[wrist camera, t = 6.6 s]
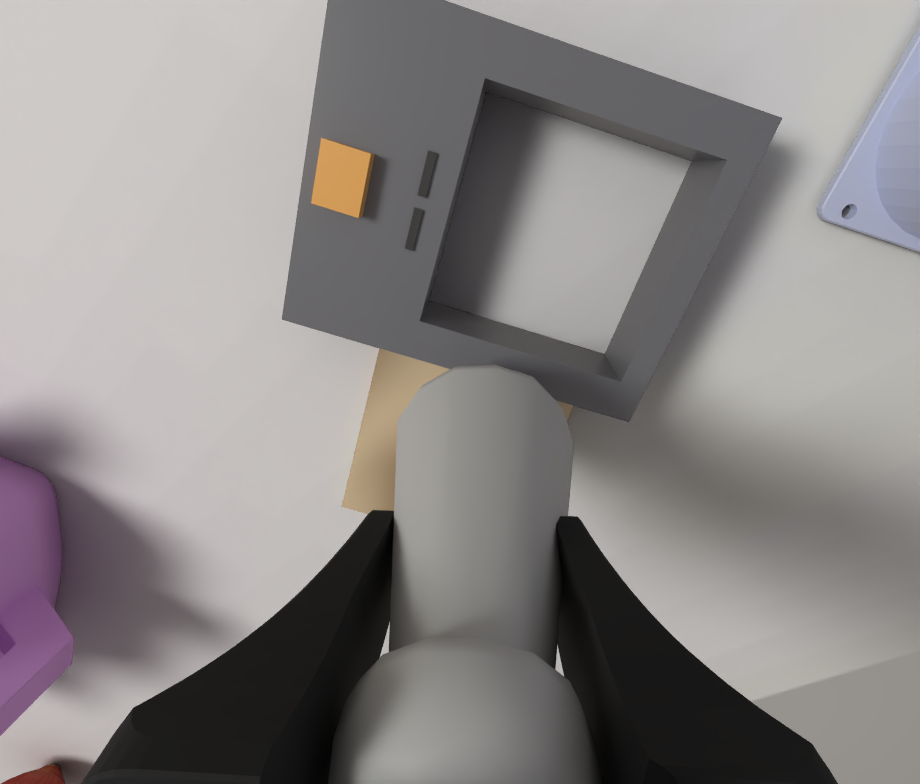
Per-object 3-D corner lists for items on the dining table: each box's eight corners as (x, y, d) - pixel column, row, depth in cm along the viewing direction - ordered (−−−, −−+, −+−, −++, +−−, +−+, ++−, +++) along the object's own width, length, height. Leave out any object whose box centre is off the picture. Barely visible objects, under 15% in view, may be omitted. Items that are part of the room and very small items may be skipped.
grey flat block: (737, 125, 18) (793, 116, 14) (612, 390, 22) (632, 429, 19) (359, -6, 17) (327, -47, 14) (308, 299, 21) (275, 323, 18)
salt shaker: (414, 328, 17) (235, 722, 6) (578, 350, 17) (741, 794, 6) (404, 465, 20) (268, 922, 8) (546, 485, 20) (609, 972, 8)
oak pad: (572, 400, 23) (574, 405, 22) (508, 545, 26) (509, 552, 26) (382, 343, 22) (379, 347, 22) (344, 500, 26) (341, 506, 25)
